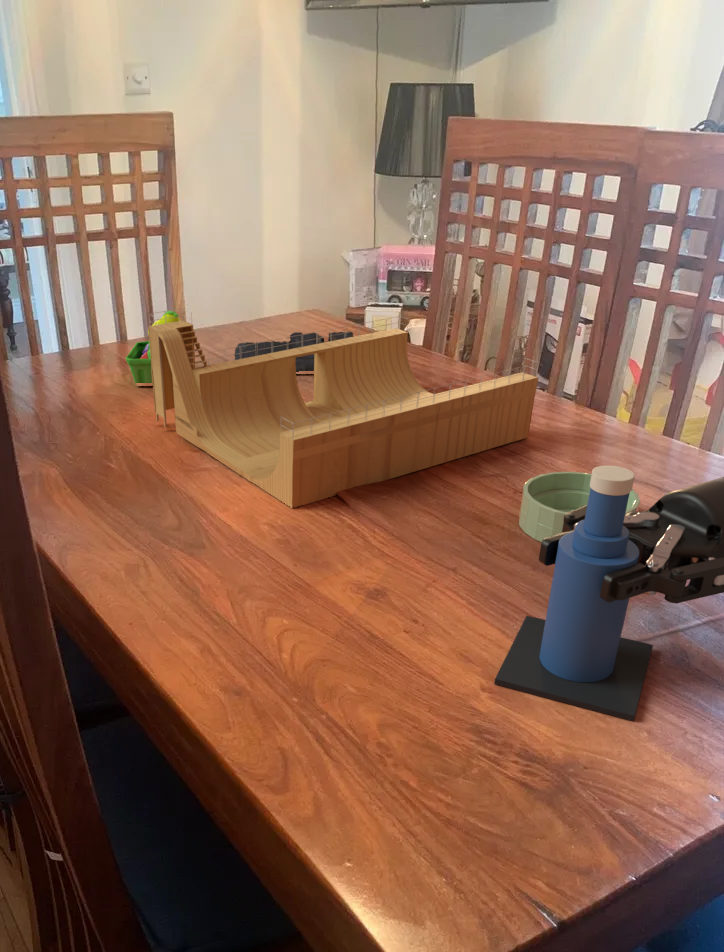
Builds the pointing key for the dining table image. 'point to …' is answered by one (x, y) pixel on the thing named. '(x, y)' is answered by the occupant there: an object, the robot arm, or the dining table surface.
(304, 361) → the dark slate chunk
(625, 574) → the robot arm
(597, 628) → the bottle
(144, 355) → the fruit basket
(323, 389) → the skate ramp
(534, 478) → the bowl
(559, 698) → the mat
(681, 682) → the dining table surface
